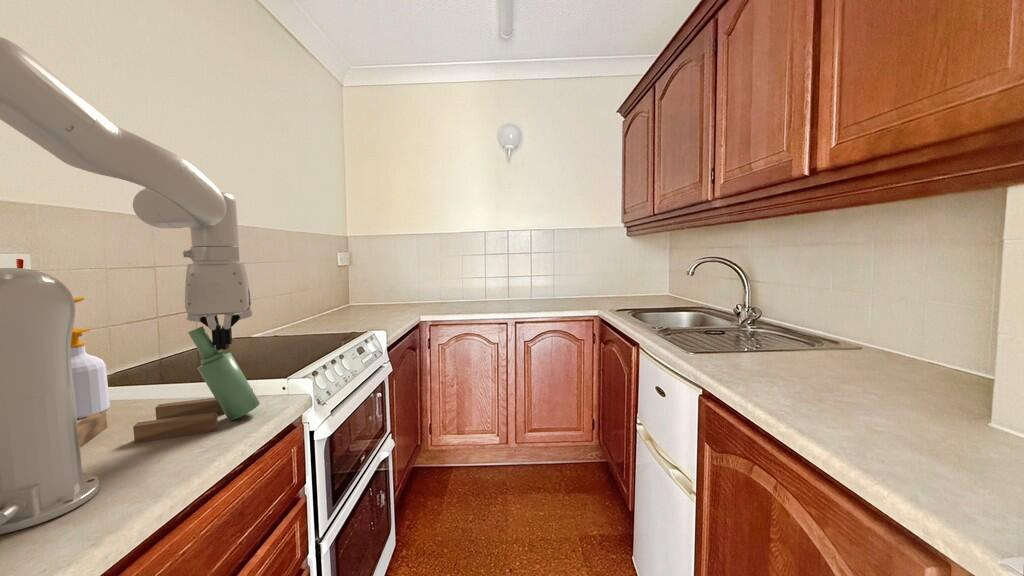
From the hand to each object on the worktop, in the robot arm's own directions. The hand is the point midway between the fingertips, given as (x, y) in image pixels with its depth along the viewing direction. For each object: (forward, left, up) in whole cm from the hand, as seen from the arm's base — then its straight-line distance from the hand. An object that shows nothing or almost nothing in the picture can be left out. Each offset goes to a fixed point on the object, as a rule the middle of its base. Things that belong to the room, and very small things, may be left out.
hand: (222, 348), depth 84 cm
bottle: (0, -3, -13) cm, 14 cm away
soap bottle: (+17, +30, -15) cm, 37 cm away
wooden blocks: (0, +12, -15) cm, 19 cm away
